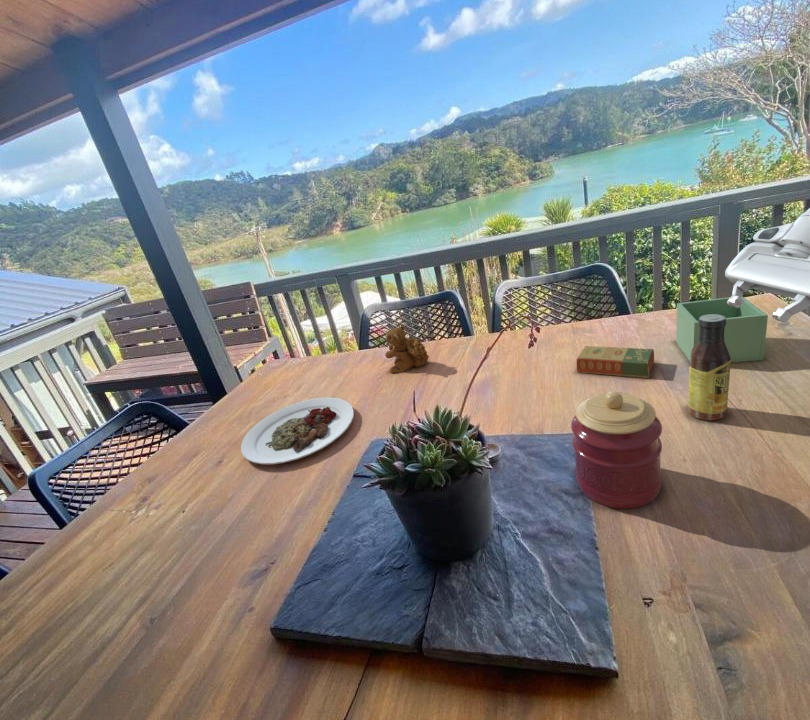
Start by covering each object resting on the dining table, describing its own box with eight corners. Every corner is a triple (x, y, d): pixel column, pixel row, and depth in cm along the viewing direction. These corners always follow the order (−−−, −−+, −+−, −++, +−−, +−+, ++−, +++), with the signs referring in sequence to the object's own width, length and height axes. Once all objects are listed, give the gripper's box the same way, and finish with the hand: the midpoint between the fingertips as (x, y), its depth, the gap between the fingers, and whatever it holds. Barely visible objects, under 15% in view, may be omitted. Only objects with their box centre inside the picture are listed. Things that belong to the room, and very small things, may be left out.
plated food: (218, 466, 108) (213, 455, 107) (288, 403, 133) (284, 393, 132) (317, 473, 96) (312, 461, 95) (373, 402, 121) (370, 392, 119)
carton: (586, 359, 116) (585, 344, 114) (654, 363, 106) (654, 347, 104) (577, 373, 110) (575, 358, 108) (649, 379, 100) (648, 362, 99)
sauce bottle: (720, 426, 81) (726, 326, 73) (682, 417, 85) (684, 323, 78) (731, 409, 84) (739, 313, 76) (694, 401, 89) (698, 310, 81)
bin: (738, 336, 108) (741, 295, 104) (763, 360, 97) (768, 315, 93) (676, 342, 113) (676, 303, 109) (692, 365, 101) (694, 322, 97)
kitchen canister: (678, 481, 71) (681, 387, 64) (630, 524, 65) (627, 426, 59) (606, 450, 82) (602, 366, 75) (560, 484, 76) (550, 397, 69)
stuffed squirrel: (399, 359, 145) (389, 322, 140) (437, 358, 138) (429, 320, 133) (384, 373, 137) (374, 335, 132) (424, 373, 130) (415, 333, 125)
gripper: (891, 264, 66) (822, 339, 69) (769, 247, 85) (719, 306, 88) (871, 242, 64) (800, 320, 67) (750, 229, 83) (699, 291, 86)
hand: (753, 312), depth 78 cm, fingers open, 8 cm apart
